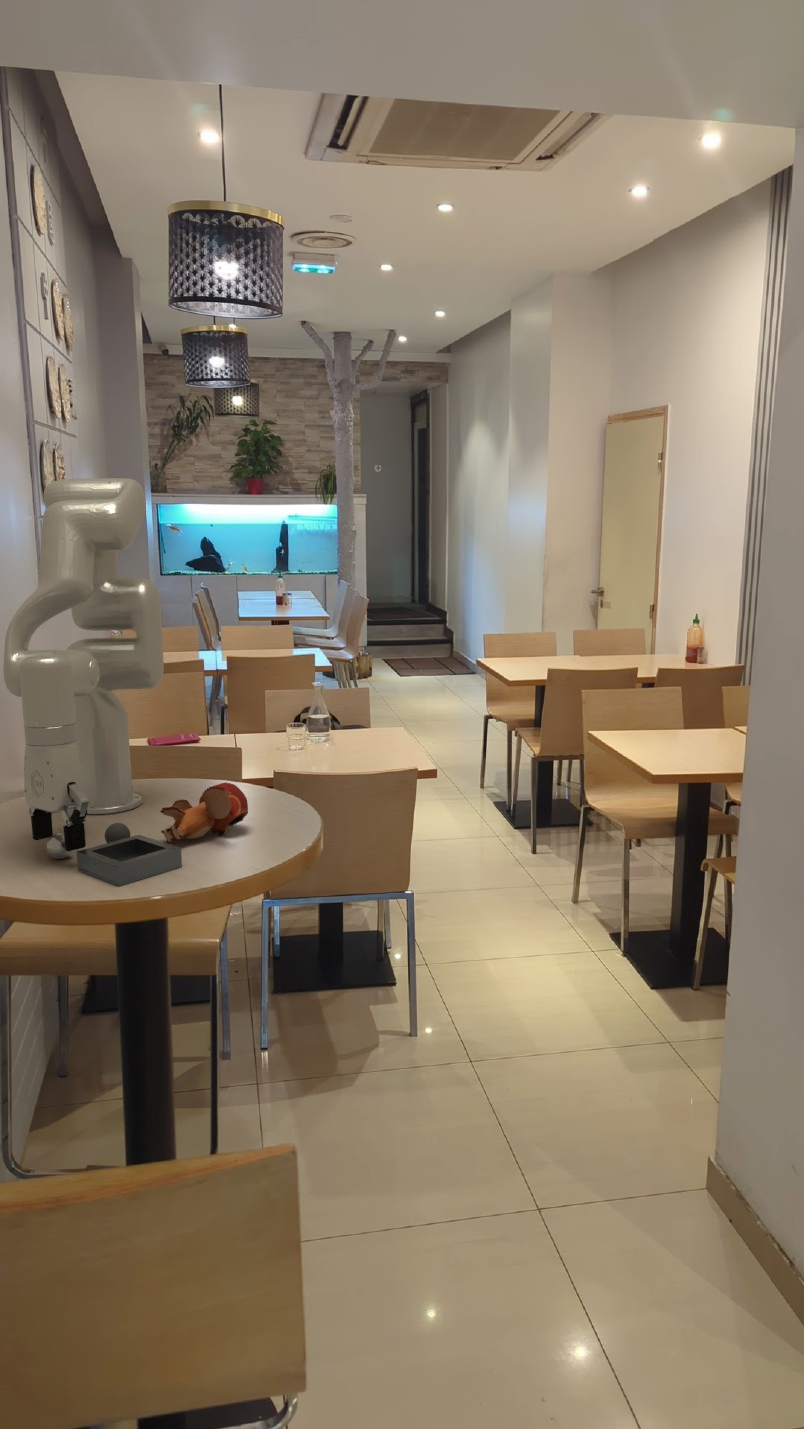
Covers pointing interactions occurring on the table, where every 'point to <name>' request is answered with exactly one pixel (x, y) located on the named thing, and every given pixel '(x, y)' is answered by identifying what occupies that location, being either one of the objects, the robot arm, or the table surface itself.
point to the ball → (116, 832)
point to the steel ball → (57, 847)
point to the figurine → (207, 813)
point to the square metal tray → (129, 859)
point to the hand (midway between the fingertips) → (58, 843)
